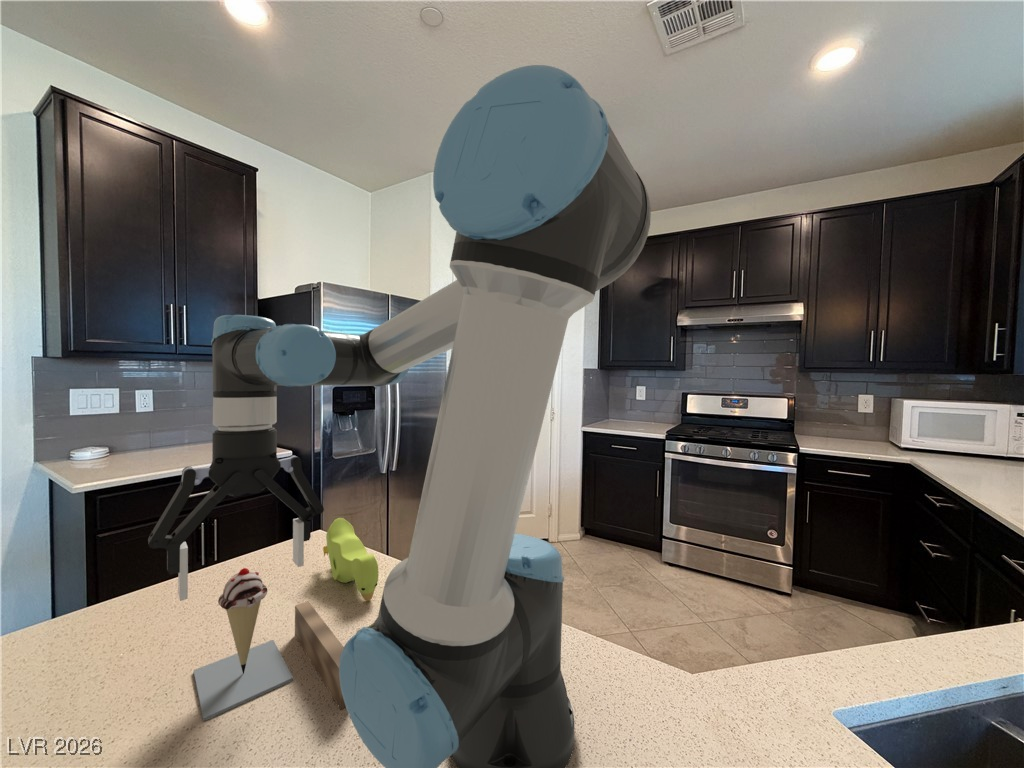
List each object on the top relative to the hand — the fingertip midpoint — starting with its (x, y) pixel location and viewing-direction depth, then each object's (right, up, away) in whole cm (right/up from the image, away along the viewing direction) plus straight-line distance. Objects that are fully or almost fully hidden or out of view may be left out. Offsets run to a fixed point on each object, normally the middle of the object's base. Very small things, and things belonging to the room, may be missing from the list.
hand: (245, 578), depth 56 cm
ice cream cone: (-1, -14, 0) cm, 14 cm away
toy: (+4, -14, +27) cm, 31 cm away
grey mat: (-1, -14, 0) cm, 14 cm away
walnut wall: (+9, -14, +3) cm, 17 cm away
